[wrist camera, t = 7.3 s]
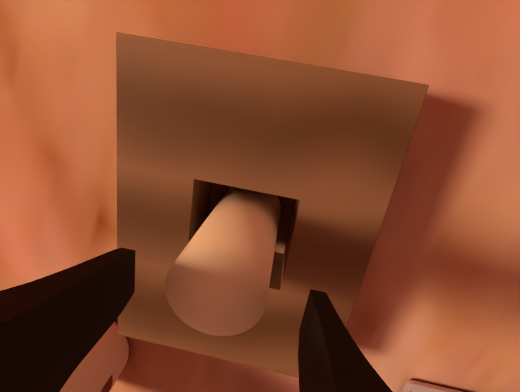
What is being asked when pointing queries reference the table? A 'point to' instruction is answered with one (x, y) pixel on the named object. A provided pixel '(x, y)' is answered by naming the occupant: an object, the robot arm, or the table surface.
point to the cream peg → (227, 265)
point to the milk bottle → (100, 364)
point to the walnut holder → (253, 178)
